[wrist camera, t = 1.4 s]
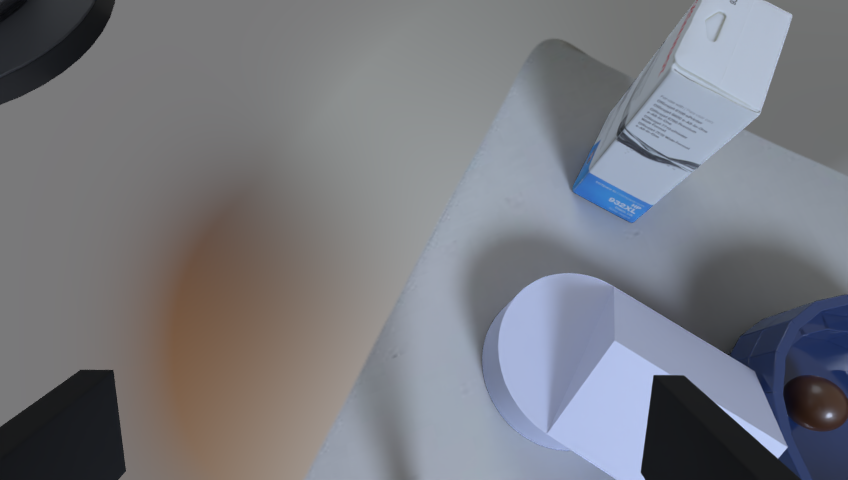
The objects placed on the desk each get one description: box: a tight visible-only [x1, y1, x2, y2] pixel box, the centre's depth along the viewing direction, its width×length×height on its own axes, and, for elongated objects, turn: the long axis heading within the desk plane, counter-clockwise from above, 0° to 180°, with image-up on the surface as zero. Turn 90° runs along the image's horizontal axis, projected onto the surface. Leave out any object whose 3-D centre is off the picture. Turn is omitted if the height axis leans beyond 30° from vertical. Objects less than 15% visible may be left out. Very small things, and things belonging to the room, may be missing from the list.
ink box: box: [572, 0, 792, 223], centre depth 30 cm, size 8×5×12 cm, turn 150°
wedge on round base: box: [482, 273, 788, 480], centre depth 25 cm, size 9×7×13 cm
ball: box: [783, 375, 848, 432], centre depth 27 cm, size 3×3×3 cm
